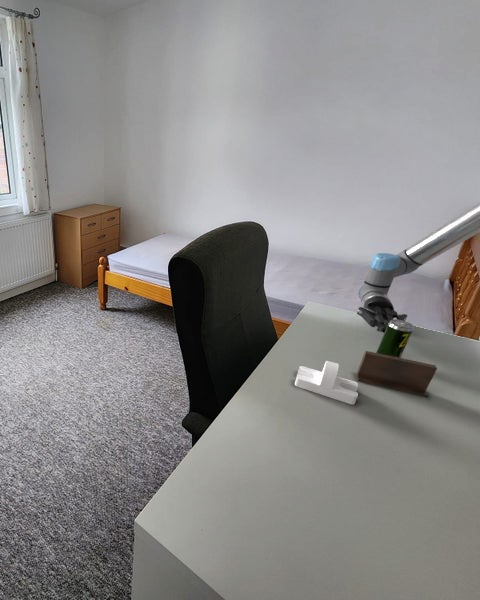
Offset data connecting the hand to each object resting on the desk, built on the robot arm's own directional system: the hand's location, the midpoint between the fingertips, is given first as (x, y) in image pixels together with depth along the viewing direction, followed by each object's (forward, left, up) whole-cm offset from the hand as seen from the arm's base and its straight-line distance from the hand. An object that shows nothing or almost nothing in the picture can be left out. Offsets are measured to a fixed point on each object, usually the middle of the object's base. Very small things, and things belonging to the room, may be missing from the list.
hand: (391, 336), depth 100 cm
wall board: (+2, +17, -6) cm, 18 cm away
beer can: (0, +3, -6) cm, 7 cm away
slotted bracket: (+17, +27, -6) cm, 32 cm away
